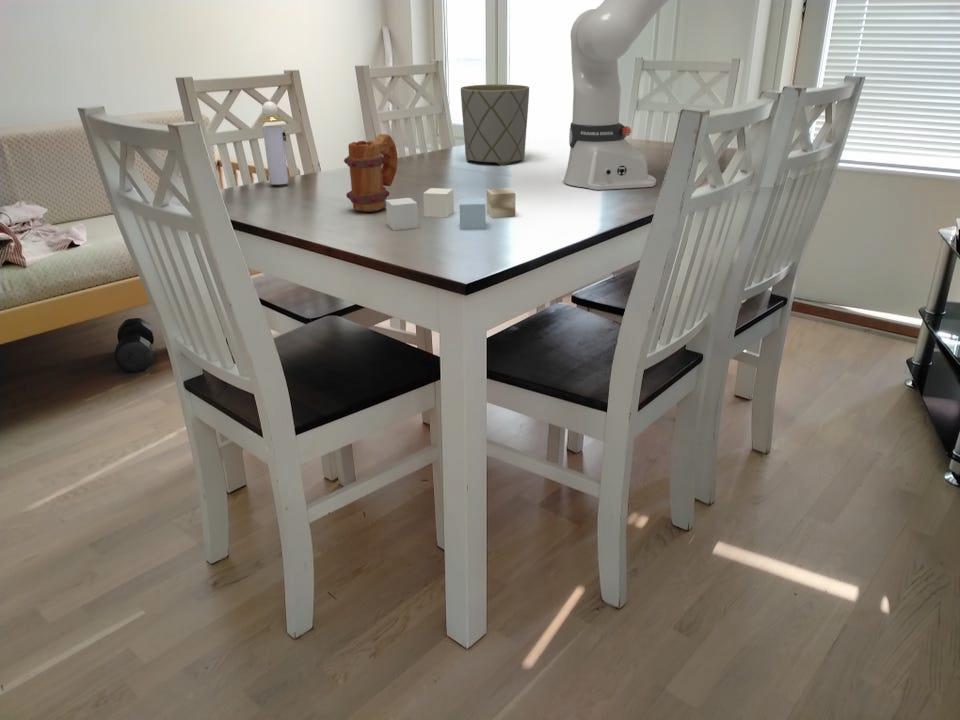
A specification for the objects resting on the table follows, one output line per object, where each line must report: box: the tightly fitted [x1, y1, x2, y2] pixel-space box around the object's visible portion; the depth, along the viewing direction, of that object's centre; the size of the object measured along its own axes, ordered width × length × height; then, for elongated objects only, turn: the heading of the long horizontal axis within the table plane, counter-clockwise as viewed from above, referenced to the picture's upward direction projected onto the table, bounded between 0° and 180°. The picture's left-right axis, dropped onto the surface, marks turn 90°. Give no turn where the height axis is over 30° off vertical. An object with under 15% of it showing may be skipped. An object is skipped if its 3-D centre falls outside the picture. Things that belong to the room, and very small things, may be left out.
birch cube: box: [486, 187, 517, 219], centre depth 153 cm, size 5×5×5 cm
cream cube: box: [422, 187, 455, 219], centre depth 153 cm, size 5×5×5 cm
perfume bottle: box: [258, 100, 290, 185], centre depth 179 cm, size 6×6×20 cm
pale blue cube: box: [459, 197, 487, 231], centre depth 144 cm, size 5×5×5 cm
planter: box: [460, 84, 530, 166], centre depth 207 cm, size 19×19×20 cm
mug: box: [343, 133, 398, 213], centre depth 157 cm, size 15×8×15 cm, turn 148°
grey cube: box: [385, 197, 419, 231], centre depth 145 cm, size 5×5×5 cm
